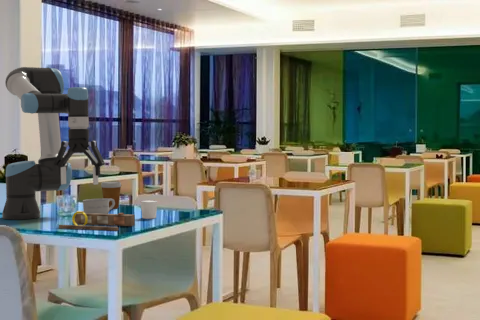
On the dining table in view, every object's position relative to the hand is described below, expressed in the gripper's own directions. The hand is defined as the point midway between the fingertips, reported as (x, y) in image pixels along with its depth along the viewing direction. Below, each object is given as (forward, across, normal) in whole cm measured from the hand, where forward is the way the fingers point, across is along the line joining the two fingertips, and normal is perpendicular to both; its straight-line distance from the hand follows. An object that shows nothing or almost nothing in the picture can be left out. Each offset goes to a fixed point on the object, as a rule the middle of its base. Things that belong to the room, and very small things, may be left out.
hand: (79, 184), depth 271 cm
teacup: (+16, -4, +24) cm, 29 cm away
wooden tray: (+16, +7, +1) cm, 17 cm away
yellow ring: (+16, 0, 0) cm, 16 cm away
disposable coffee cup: (+16, -14, +55) cm, 59 cm away
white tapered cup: (+16, +16, +29) cm, 37 cm away
